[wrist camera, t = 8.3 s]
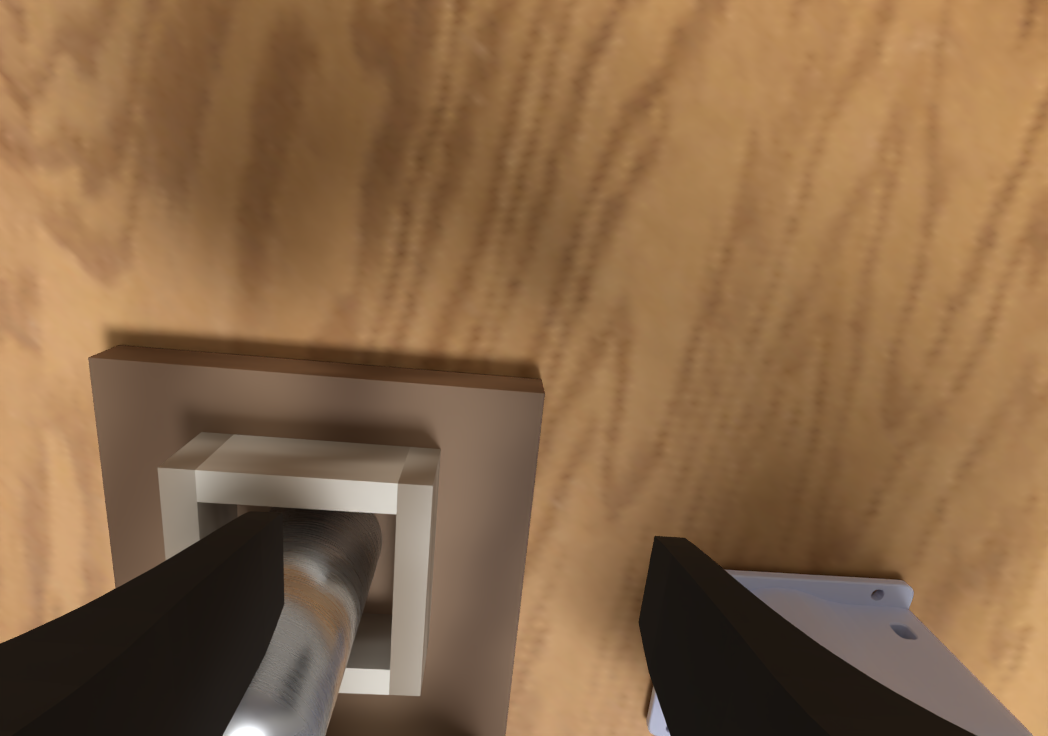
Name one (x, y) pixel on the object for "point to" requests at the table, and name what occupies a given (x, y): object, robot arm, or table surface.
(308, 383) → the socket stand
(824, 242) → the table surface
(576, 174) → the table surface
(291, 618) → the steel peg
